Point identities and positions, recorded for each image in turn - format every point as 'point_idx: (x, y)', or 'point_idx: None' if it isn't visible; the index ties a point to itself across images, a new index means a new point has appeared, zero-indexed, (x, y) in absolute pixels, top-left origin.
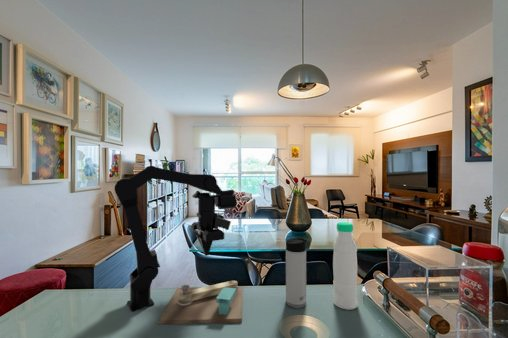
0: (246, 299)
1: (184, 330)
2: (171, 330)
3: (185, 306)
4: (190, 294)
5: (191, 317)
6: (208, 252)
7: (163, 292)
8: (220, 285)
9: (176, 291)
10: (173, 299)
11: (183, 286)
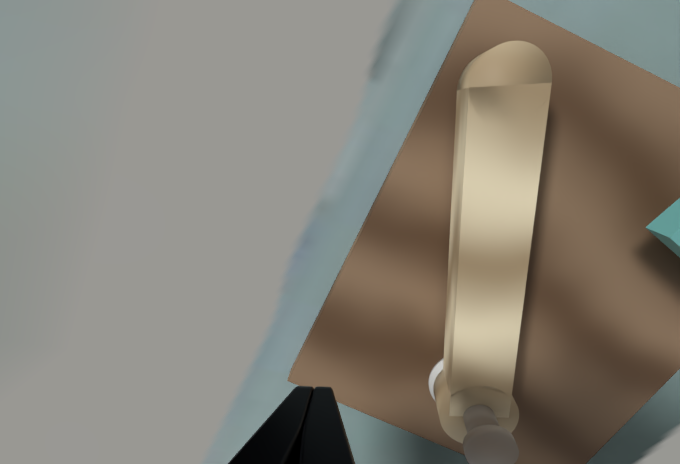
0: (628, 33)
1: (665, 416)
2: (626, 451)
3: (514, 391)
4: (506, 398)
5: (632, 393)
6: (340, 425)
7: None
8: (500, 202)
9: None
10: (410, 419)
11: (481, 461)
